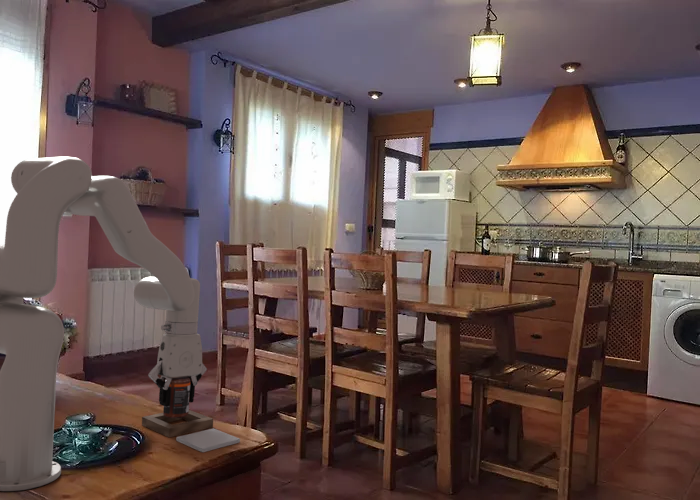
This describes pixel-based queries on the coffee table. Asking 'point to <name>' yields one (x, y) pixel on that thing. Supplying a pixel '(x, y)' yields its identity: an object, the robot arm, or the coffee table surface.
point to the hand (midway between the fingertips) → (176, 402)
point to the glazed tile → (207, 440)
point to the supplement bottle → (178, 398)
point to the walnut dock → (163, 427)
